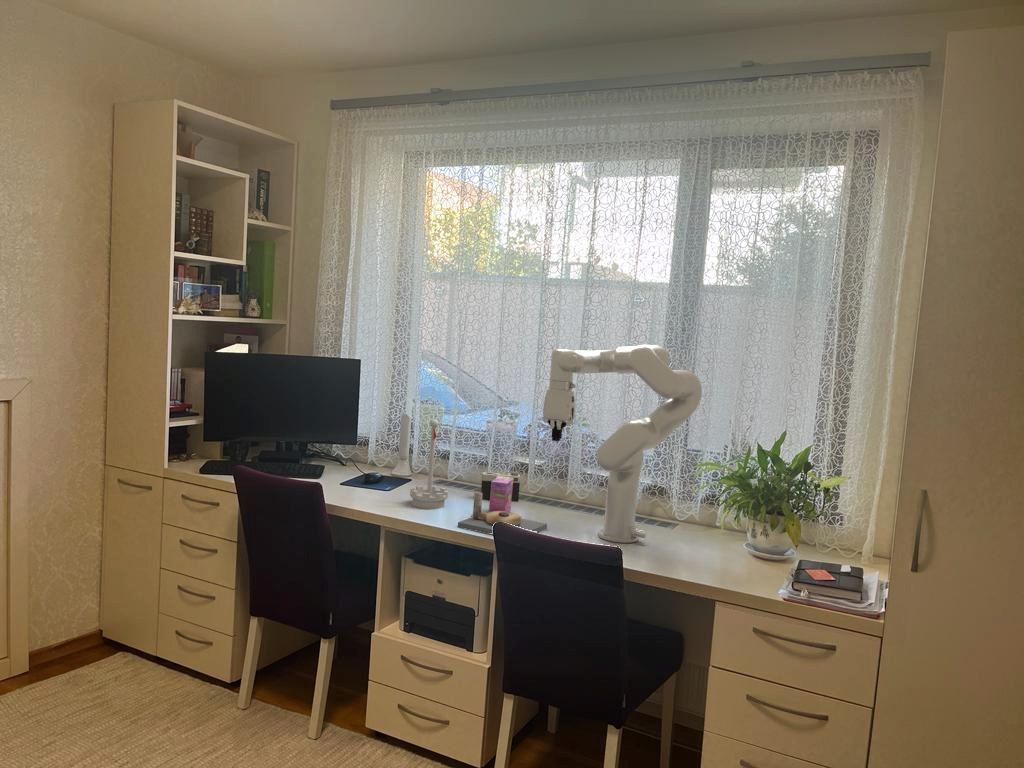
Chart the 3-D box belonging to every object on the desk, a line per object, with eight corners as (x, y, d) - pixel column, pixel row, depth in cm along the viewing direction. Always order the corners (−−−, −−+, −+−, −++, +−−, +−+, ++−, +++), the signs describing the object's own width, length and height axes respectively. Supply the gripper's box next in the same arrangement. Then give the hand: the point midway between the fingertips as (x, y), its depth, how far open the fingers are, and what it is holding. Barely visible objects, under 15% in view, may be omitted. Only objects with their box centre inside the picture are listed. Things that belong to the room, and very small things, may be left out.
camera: (481, 502, 289) (483, 474, 288) (479, 497, 297) (481, 470, 296) (519, 504, 290) (521, 477, 290) (517, 499, 299) (519, 472, 298)
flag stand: (406, 500, 283) (411, 416, 281) (442, 500, 287) (448, 417, 285) (413, 509, 271) (419, 421, 268) (451, 509, 275) (457, 422, 272)
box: (504, 517, 269) (507, 483, 268) (488, 515, 270) (490, 481, 269) (511, 511, 279) (513, 477, 278) (495, 509, 280) (497, 475, 279)
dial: (524, 520, 260) (526, 496, 259) (514, 528, 249) (516, 502, 248) (478, 513, 264) (480, 489, 263) (466, 520, 254) (468, 495, 253)
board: (549, 527, 261) (549, 521, 261) (519, 540, 243) (519, 534, 242) (489, 514, 272) (489, 509, 271) (456, 526, 253) (456, 520, 253)
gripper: (585, 388, 266) (581, 442, 268) (545, 383, 273) (541, 436, 275) (576, 389, 260) (572, 445, 261) (535, 384, 267) (531, 438, 268)
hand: (556, 440), depth 268 cm, fingers closed
